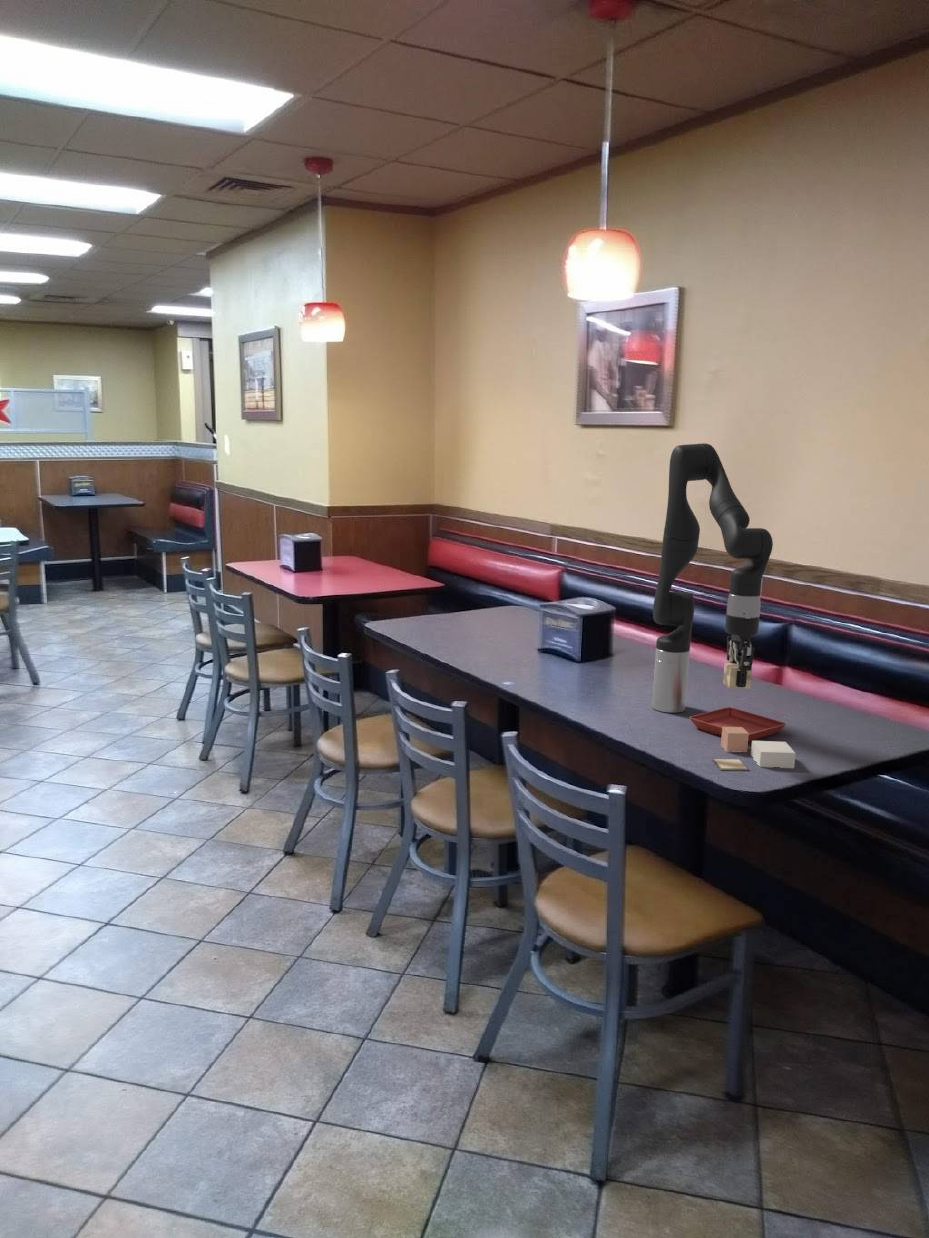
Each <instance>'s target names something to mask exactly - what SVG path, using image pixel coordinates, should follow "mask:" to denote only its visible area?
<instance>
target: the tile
mask: <svg viewBox="0 0 929 1238" xmlns="http://www.w3.org/2000/svg"><path fill="white" fill-rule="evenodd" d="M711 761H712V762H713V764H714V765H715V766H716V765H717V766H716V767H717V769H719V770H720V771H723V772H724V771H727V770H729V771H730V772H731V771H733V772H734V771H735V772H736V771H739V772H745V771H746V772H750V768H748V766H746V765H745V763H744V762H743V761H742V760H741V759H738V758H737V759H735V758H734V759H733V758H731V759H730V758H726V759H725V758H717V759H716V758H713V759H711ZM727 772H728V771H727Z"/></svg>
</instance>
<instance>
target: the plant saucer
mask: <svg viewBox="0 0 929 1238" xmlns="http://www.w3.org/2000/svg"><path fill="white" fill-rule="evenodd" d="M689 720H690V721H691V722H692V723H693V725H695V728H697V729H699V730H702V731H704V732H705V731H706V732H707V733H711V732H712V733H711V734H714V733H715V734H714V735H717V734H718V735H717V736H720V735H721V736H720V737H722V727H743V728H744V729H745V730H746V731H747V732H748V733H749V737H748V741H749V742H752V741H756V740H759V739H761V737H762V738H765V737H768V736H767V735H769V736H771V734H772V735H775V734H777V733H778V732H779V731H781V730H782V729H783V728H784V727H785V726H786V725H787V723H786V722H783V721H779V720H776V719H773V718H769V717H766V716H763V715H760V714H759V715H758V714H755V713H752V712H748V711H746V710H741V709H738V708H735V707H731V706H729V707H723V708H719V709H716V710H712V711H711V710H710V711H707V712H703V713H699V714H695V715H692V716H689ZM774 733H775V734H774ZM764 736H765V737H764ZM758 738H759V739H758Z"/></svg>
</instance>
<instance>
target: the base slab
mask: <svg viewBox="0 0 929 1238" xmlns="http://www.w3.org/2000/svg"><path fill="white" fill-rule="evenodd" d="M750 748H751V749H750V756H751V757H753V758H752V759H753V760H754V762H755V761H756V762H757V763H756V762H755V763H756V764H757V766H758V765H759V766H760V767H759V766H758V767H759V768H773V767H780V768H779V769H795V762H796V752H795V751H794V750H793V748H792V747H791V746H790V745H789V744H788V743H787V741H776V740H775V741H770V740H767V741H766V740H752V741H751V747H750Z"/></svg>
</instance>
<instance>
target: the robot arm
mask: <svg viewBox="0 0 929 1238" xmlns="http://www.w3.org/2000/svg"><path fill="white" fill-rule="evenodd" d="M704 480H706V481H707V482H708V483H709V484H710V485H711V492H710V495H709V500H708V506H709V510H710V514H711V516H712V517H713V518H714V520H715V522H716V524H717V525H718V526H719V528H720V531H721V535H722V539H723V544H724V545H723V546H724V548H725V551H726V553H727V554H728V555H729V556H730V557H732V558H733V559H737V560H738V559H739V560H740V559H741V560H742V559H743V560H744V559H745V560H746V559H747V562H746V564H745V565H744V566H741V567H739V568H735V569H733V570H732V571H731V573H730V578H729V579H730V580H729V591H728V592H729V593H728V598H727V603H726V615H725V628H724V631H725V632H726V633H727V634H729V635H727V637H726V661H728V663H737V676H736V686H737V687H745V686H746V679H747V672H748V671H751V669H752V670H753V664H754V663H753V662H754V656H755V651H756V650H755V649H756V648H755V646H752V642H751V637H752V636H757V635H758V634H759V628H760V619H761V618H760V615H761V604H762V603H761V593H762V592H761V590H762V581H763V580H762V579H763V575H764V574H765V571H766V568H767V564H768V562H769V559H770V556H771V554H772V552H773V546H774V542H773V537H772V535H771V533H770V532H769V531H768V530H767V529H765V528H763V527H761V528H760V527H757V528H755V527H751V528H750V527H748V526H749V525H750V521H751V520H750V516H749V513H748V511H747V510H746V509H745V507H744V506H743V504H742V503H741V501H740V500H739V499H738V497H737V495H736V494H735V492H734V490H733V487H732V485H731V482H730V481H729V478H728V476H727V473H726V470H725V468H724V466H723V464H722V461H721V458H720V456H719V454H718V452H717V451H716V449H715V448H714V446H713V445H711V444H709V443H706V442H705V443H704V442H703V443H693V444H692V443H690V444H679V445H676V446H674V448H673V449H672V451H671V454H670V459H669V472H668V496H667V507H666V508H667V509H666V515H665V522H664V529H663V535H662V536H663V537H662V546H661V555H660V556H661V557H660V565H659V566H660V567H659V573H658V579H657V582H656V583H657V585H656V589H655V594H654V600H653V606H652V617H653V622H655V623H656V624H657V625H661V626H662V625H663V626H678V627H677V628H676V629H674V630H673V631H671V632H670V633H666V634H663V635H661V636H659V637H657V639H656V642H655V644H656V645H655V659H654V672H653V674H654V675H653V683H652V684H653V685H652V687H653V688H652V698H651V700H652V701H651V707H652V709H654V710H656V711H659V712H663V713H674V714H676V713H682V712H685V710H686V704H687V702H686V701H687V691H688V680H689V679H688V678H689V668H690V667H689V665H690V664H689V662H690V651H691V642H692V632H693V631H692V629H693V623H694V616H695V608H696V607H695V597H694V595H693V594H692V593H691V592H683V591H671V588H672V586H673V584H674V582H675V580H676V579H677V577H678V576H679V575H680V574H681V572H682V571H683V570H685V568H686V567H687V566H688V565H689V564H690V563H691V562H692V560H693V559H694V557H695V556H696V554H697V551H698V548H699V547H698V546H699V540H700V533H701V532H700V531H701V528H700V524H699V521H698V520H697V517H696V515H695V514H694V513H695V512H693V510H692V508H691V506H690V504H689V501H688V498H687V488H688V487H687V486H688V483H689V482H692V481H693V482H694V481H704ZM744 663H745V665H744Z"/></svg>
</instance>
